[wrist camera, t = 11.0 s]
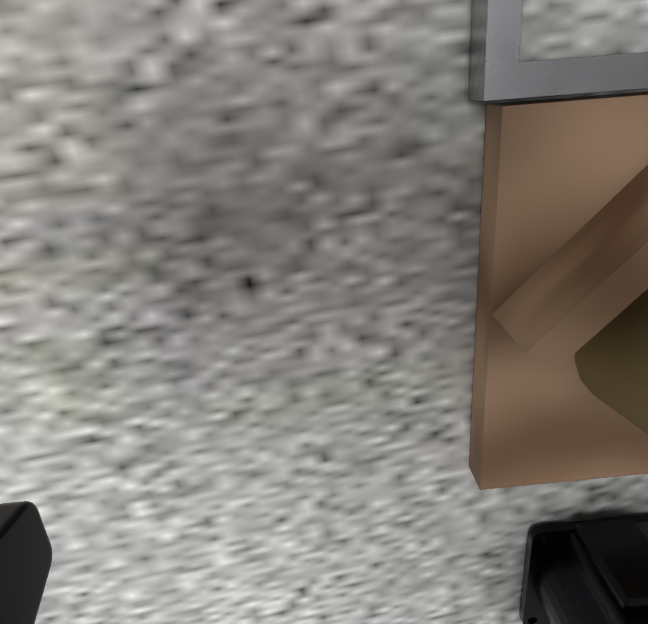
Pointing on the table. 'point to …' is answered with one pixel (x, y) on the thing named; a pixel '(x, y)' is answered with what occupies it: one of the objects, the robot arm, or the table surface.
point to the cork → (620, 363)
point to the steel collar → (537, 76)
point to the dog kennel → (556, 285)
